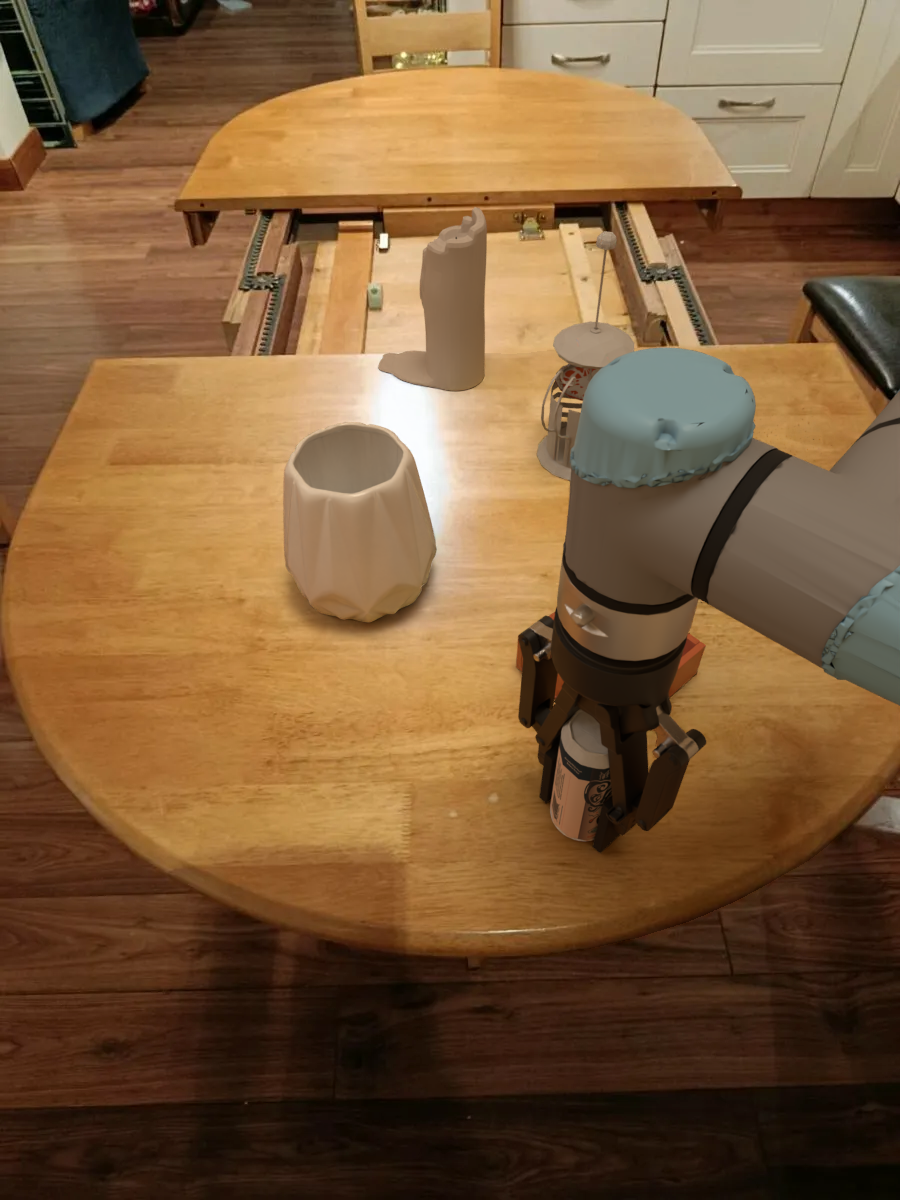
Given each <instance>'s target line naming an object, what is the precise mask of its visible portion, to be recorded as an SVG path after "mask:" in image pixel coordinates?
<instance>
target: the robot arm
mask: <svg viewBox="0 0 900 1200" xmlns="http://www.w3.org/2000/svg"><path fill="white" fill-rule="evenodd" d="M581 403H582V408H581V409H580V418H579V423H578V429H577V434H576V439H575V442H574V446H573V448H572V449H571V455H570V463H571V479H570V482H569V496H568V497H569V498H568V507H567V508H568V509H567V516H566V517H567V518H566V529H565V535H564V537H565V538H564V542H563V543H562V544H563V545H562V548H563V549H562V556H561V562H560V563H561V564H560V572H559V581H558V587H557V595H556V607H555V609H554V610H555V611H554V612H555V616H554V620H553V619H552V618H551V617H549V615H544V616H542V617H541V618H540V619H538V620H537V621H535V622H534V623H532V624H531V625H530V626H529V627H527V628H526V629H524V630H523V631H522V632H521V633H519V634H518V636H517V641H518V640H519V644H520V648H521V652H522V656H523V666H522V672H521V680H520V690H519V691H520V692H519V704H518V714H517V717H518V720H519V723H520V724H521V725H522V726H523V727H524V728H526V729H530V728H532V729H533V730H534V731H535V732H536V735H535V741H536V742H537V744H538V747H537V748H538V749H537V761H538V763H539V764H540V765H541V766H542V773H541V781H540V789H539V796H538V797H539V799H540V800H541V801H542V802H543V803H545V804H548V803H550V802H551V798H552V791H553V784H554V777H555V771H556V764H557V757H558V750H559V744H560V737H561V731H562V727H563V725H564V724H565V723H566V722H567V721H568V720H569V719H570V718H571V717H572V716H573V715H574V714H575V713H576V712H577V711H578V710H580V709H581V710H582V711H584V712H586V713H587V714H589V715H591V716H592V717H593V718H594V719H595V720H596V721H597V722H598V723H599V725H600V734H601V743H602V745H603V746H605V747H606V748H608V758H609V768H610V779H611V789H612V796H611V797H610V798H609V799H608V800H607V801H606V802H605V803H603V805H602V809H601V813H600V817H599V822H598V826H597V830H596V834H595V838H594V840H593V842H592V848H593V849H594V850H595V851H596V852H597V853H598V854H602V852H604V851H605V850H606V849H607V848H608V847H609V846H611V844H612V843H613V842H615V840H616V839H617V838H619V836H622V837H623V836H626V834H627V833H629V832H630V831H631V830H632V829H633V828H634V827H635V826H636V825H637V826H638V827H639V828H640V829H641V831H644V832H646V833H647V832H649V831H651V830H652V829H653V828H654V827H656V825H657V824H658V823H659V822H660V821H661V820H662V819H663V818H664V817H665V816H666V815H667V814H668V813H669V812H670V811H671V810H672V809H673V808H674V805H675V802H676V799H677V797H678V794H679V792H680V788H681V786H682V782H683V781H684V777H685V775H686V771H687V770H688V767H689V763H690V760H691V759H693V757H694V756H695V755H696V754H698V752H699V751H701V750H702V749H703V748H704V747H705V746H706V745H707V738H706V737H705V735H704V734H703V733H702V732H701V731H700V730H698V729H697V728H691V729H689V730H688V731H687V732H685V731H684V730H683V728H682V727H681V726H680V725H679V724H678V723H677V722H676V721H675V720H674V719H673V717H672V716H671V714H672V711H673V710H672V706H673V705H672V702H671V699H670V698H671V697H669V690H670V688H671V685H672V683H673V681H674V679H675V676H676V673H677V670H678V667H679V664H680V660H681V657H682V654H683V650H684V647H685V644H686V640H687V635H688V633H689V634H690V631H691V629H692V626H693V622H694V618H695V615H696V610H697V607H698V603H699V600H700V601H701V602H704V603H706V604H707V605H709V606H710V607H712V608H714V609H716V610H717V611H718V612H719V611H720V612H721V613H722V614H724V615H726V616H728V617H730V618H732V619H734V620H736V621H737V622H739V623H741V624H743V625H744V626H746V627H748V628H750V629H751V630H753V631H755V632H757V633H758V634H761V635H762V636H764V637H766V638H767V639H769V640H771V641H773V642H774V643H776V644H778V645H780V646H782V647H784V648H786V649H787V650H789V651H791V652H793V653H794V654H796V655H798V656H800V657H801V658H803V659H805V660H806V661H808V662H810V663H812V664H813V665H815V666H817V667H819V668H821V669H822V670H823V673H825V674H827V675H828V676H830V677H832V678H834V679H836V680H837V681H846V682H849V683H851V684H853V685H856V686H857V687H860V688H861V689H864V690H866V691H868V692H870V693H871V694H873V695H876V696H878V697H880V698H882V699H885V700H886V701H889V702H890V703H893V704H895V705H898V707H900V388H898V390H897V392H896V393H895V394H894V396H893V397H892V399H891V400H890V401H889V402H888V403H887V404H886V405H885V407H884V408H883V409H882V410H881V412H879V414H878V415H877V416H876V417H875V419H873V421H872V422H871V423H870V424H869V425H868V427H867V428H866V429H865V430H864V431H863V432H862V433H861V434H860V436H859V437H858V438H857V439H856V440H855V441H854V442H853V444H852V445H851V446H850V447H849V448H848V449H847V450H846V451H845V453H844V454H843V455H842V456H841V457H840V458H839V459H838V461H836V462H835V463H834V465H832V467H831V468H830V469H829V470H828V469H826V468H823V467H821V466H818V465H816V464H813V463H811V462H810V461H806V460H805V459H802V458H799V457H797V456H794V455H792V454H790V453H787V452H785V451H782V450H780V449H779V448H778V447H775V446H773V445H771V444H769V443H766V442H764V441H761V440H759V439H758V438H757V439H756V438H755V437H754V433H755V432H754V431H755V429H756V423H755V422H754V421H755V416H756V407H757V405H756V403H757V402H756V397H755V395H754V392H753V388H752V386H751V385H750V384H749V382H748V381H747V380H746V379H745V378H744V377H743V376H740V375H737V374H735V373H734V371H733V368H732V366H731V365H730V364H728V363H727V362H726V361H724V360H722V359H720V358H718V357H715V356H713V355H710V354H707V353H705V352H703V351H702V352H700V351H697V350H694V349H687V348H680V347H649V348H644V349H643V348H642V349H638V350H634V352H630V353H627V354H625V355H622V356H620V357H618V358H616V359H614V360H613V361H612V362H610V363H609V364H608V365H606V366H604V367H602V368H601V369H600V370H599V371H598V372H597V373H596V374H595V375H594V376H593V378H592V379H591V381H590V382H589V384H588V386H587V389H586V391H585V394H584V398H583V401H582V402H581ZM558 674H559V676H560V677H561V678H562V680H563V681H564V683H563V685H562V686H561V688H562V689H561V690H560V692H559V694H558V695H557V697H556V699H554V697H555V690H556V683H557V675H558ZM650 731H654V733H655V736H656V740H655V745H656V747H655V748H654V749H653V750H652V752H651V753H652V756H653V757H654V758H655V759H654V760H653V762H652V763H651V765H650V767H649V755H648V754H649V753H648V751H649V750H648V736H647V734H648V732H650Z"/></svg>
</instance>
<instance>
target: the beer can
mask: <svg viewBox="0 0 900 1200" xmlns="http://www.w3.org/2000/svg"><path fill="white" fill-rule="evenodd" d="M611 796H612V789H611V779H610V768H609V758H608V748H606V747H605V746H603V745H602V743H601V734H600V725H599V723H598V722H597V721H596V720H595V719H594V718H593V717H592V716H591V715H589V714H587V713H586V712H584V711H582V710H581V709H580V710H578V711H577V712H576V713H575V714H574V715H573V716H572V717H571V718H570V719H569V720H568V721H567V722H566V723H565V724H564V725H563V727H562V731H561V737H560V744H559V750H558V757H557V764H556V771H555V777H554V784H553V791H552V798H551V800H550V805H549V808H550V809H549V814H550V817H551V821H552V823H553V825H554V827H555V828H556V829H557V830H558V831H559V832H560V833H561V834H562V835H563V836H565V837H567V838H569V839H571V840H573V841H577V842H591V841H594V838H595V834H596V830H597V826H598V822H599V817H600V813H601V809H602V805H603V803H605V802H606V801H607V800H608V799H609V798H610V797H611Z"/></svg>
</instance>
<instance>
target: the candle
mask: <svg viewBox="0 0 900 1200" xmlns="http://www.w3.org/2000/svg"><path fill="white" fill-rule="evenodd" d="M487 227H488V225H487V220H486V216H485V214H484V213H483V210H482V209H481V208H480V207H476V206H474V207H473V208H472V209H471V216H469V215H464V216H463V217H462V221H461V224H459V225H451V226H448V227H446V228H444V229H442V230H441V231H440V232H439V234H438V237H437V238H434V239H433V240H432V241H430V242H428V243H427V245H426V247H424V248H423V249H422V258H421V261H422V262H421V269H420V277H419V298H420V300H421V306H422V309H423V316H424V327H425V330H424V331H425V351H423V350H407V351H403V352H399V353H397V352H396V353H395V352H388V353H384V354H383V355H382V358H381V359H380V361H379V362H378V366H377V368H378V369H379V371H382V372H384V373H387V374H391V375H393V376H394V377H396V378H397V379H398V380H401V381H404V382H407V383H410V384H413V385H416V386H417V385H419V386H423V387H430V388H435V389H440V390H445V391H452V392H453V391H454V392H459V391H467V390H470V389H472V388H474V387H476V386H478V385H479V384H480V383H482V381H483V380H484V377H485V366H486V365H485V362H486V361H485V360H486V359H485V358H486V353H485V352H486V321H485V320H486V317H485V313H486V312H485V310H486V309H485V307H486V306H485V297H486V275H487V273H486V272H487V253H488V252H487V251H488V250H487V248H488V247H487V244H488V242H487V241H488V228H487Z"/></svg>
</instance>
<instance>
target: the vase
mask: <svg viewBox="0 0 900 1200" xmlns="http://www.w3.org/2000/svg"><path fill="white" fill-rule="evenodd" d="M288 457H289V458H288V459H287V460H286V461H287V462H286V464H285V466H284V471H283V484H282V485H283V486H282V487H283V489H282V491H283V492H282V516H283V517H282V518H283V519H282V520H283V521H282V522H283V524H282V525H283V554H284V555H283V556H284V562H285V568H286V570H287V572H288V573H289V574H290V575H291V576H292V578H293V580H294V582H295V584H296V586H297V588H298V590H299V592H300V594H301V596H302V597H303V598H305V599H307V600H308V604H309V605H310V606H311V607H312V608H313V609H314V610H315V611H316V612H318V613H319V614H321V615H326V616H331V617H337V618H338V619H340V620H344V621H345V620H349V619H351V620H354V621H359V622H362V623H372V622H374V621H376V620H378V619H381V618H382V617H385V616H387V615H395V614H396V613H397V612H398V611H399V610H400V609H403V608H405V607H408V606H410V605H412V604H414V603H415V602H416V600H417V599H418V597H419V596H420V595H421V592H422V586H425V585H426V584H427V583H428V581H429V578H430V573H431V570H432V565H433V561H434V559H435V557H436V555H437V550H438V549H437V544H436V543H437V542H436V536H435V531H434V527H433V523H432V519H431V515H430V510H429V506H428V502H427V499H426V495H425V491H424V487H423V484H422V480H421V476H420V473H419V470H418V466H417V463H416V459H415V457H414V455H413V453H412V451H411V450H410V448H409V447H408V446H407V444H405V443H404V442H403V441H402V440H401V439H400V438H399V436H398V435H397V434H396V433H395V432H394V431H393V430H391V429H389V428H387V427H384V426H382V425H377V424H372V423H369V424H365V423H364V422H359V421H357V422H356V421H344V422H339V423H335V424H330V425H327V426H326V427H324V428H320V429H317V430H314V431H313V432H310V433H309V434H308V435H306V436H305V437H303V438H302V439H301V440H300V441H299V442H297V444H295V447H294V450H293V451H292V452H291V453H290V456H288Z"/></svg>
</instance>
